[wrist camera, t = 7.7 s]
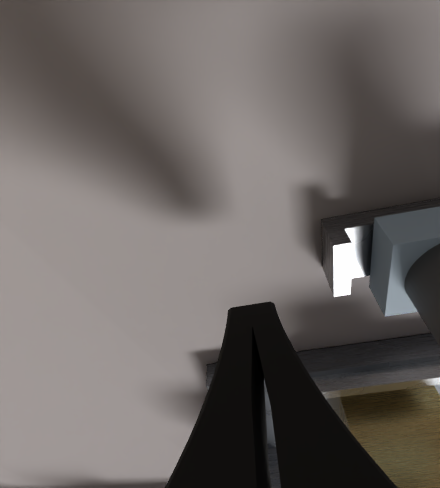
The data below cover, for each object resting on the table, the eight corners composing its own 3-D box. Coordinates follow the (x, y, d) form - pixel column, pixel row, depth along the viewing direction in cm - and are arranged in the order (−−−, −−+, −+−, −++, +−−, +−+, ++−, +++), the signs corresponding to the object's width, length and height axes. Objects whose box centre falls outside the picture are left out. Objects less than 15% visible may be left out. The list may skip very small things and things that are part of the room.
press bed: (497, 324, 16) (639, 493, 11) (455, 426, 22) (534, 569, 17) (206, 364, 18) (205, 532, 12) (239, 450, 24) (247, 589, 18)
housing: (432, 382, 17) (533, 565, 12) (420, 426, 20) (498, 591, 14) (339, 394, 18) (395, 575, 12) (339, 435, 20) (385, 599, 15)
